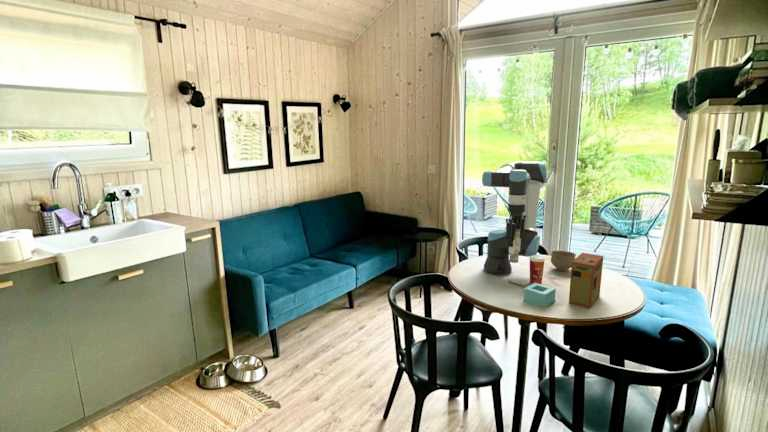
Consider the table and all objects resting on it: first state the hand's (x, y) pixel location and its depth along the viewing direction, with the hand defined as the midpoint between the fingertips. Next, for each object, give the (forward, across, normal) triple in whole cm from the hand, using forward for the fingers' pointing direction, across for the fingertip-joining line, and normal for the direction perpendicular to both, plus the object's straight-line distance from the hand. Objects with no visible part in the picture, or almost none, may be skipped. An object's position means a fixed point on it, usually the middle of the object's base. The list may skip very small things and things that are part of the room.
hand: (514, 252), depth 192 cm
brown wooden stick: (+21, +11, +4) cm, 24 cm away
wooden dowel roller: (+5, 0, 0) cm, 5 cm away
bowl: (+21, +49, 0) cm, 53 cm away
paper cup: (+21, +20, -1) cm, 29 cm away
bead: (+21, +2, -13) cm, 25 cm away
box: (+21, +17, -27) cm, 38 cm away
